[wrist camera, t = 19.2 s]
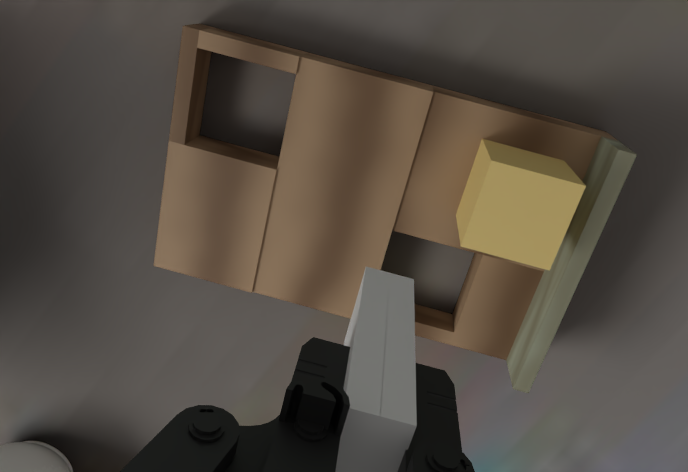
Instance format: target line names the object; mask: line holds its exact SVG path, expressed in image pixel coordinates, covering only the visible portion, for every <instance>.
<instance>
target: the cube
mask: <svg viewBox="0 0 688 472" xmlns="http://www.w3.org/2000/svg"><path fill="white" fill-rule="evenodd" d="M585 187H586V185H585V184H584V183H583V182H582V181H581V180H580V178H579V177H578V176H577V175H576V174H575V173H574V171H573V170H572V169H571V168H570V167H569V166H568V164H567V163H566V162H565V161H563V160H560V159H556V158H552V157H549V156H545V155H541V154H537V153H534V152H530V151H526V150H523V149H519V148H515V147H511V146H508V145H504V144H500V143H497V142H493V141H489V140H485V139H482V140H481V143H480V146H479V149H478V152H477V155H476V158H475V161H474V163H473V166H472V169H471V172H470V175H469V178H468V181H467V184H466V187H465V190H464V193H463V195H462V198H461V201H460V204H459V207H458V210H457V213H456V219H457V226H458V232H459V239H460V245H461V247H465V248H468V249H472V250H476V251H479V252H483V253H487V254H490V255H494V256H498V257H501V258H505V259H509V260H512V261H516V262H520V263H523V264H527V265H531V266H534V267H538V268H542V269H545V270H549V271H550V269H551V266H552V264H553V262H554V259H555V257H556V255H557V252H558V250H559V248H560V245H561V243H562V241H563V238H564V236H565V234H566V231H567V229H568V227H569V225H570V222H571V220H572V218H573V215H574V213H575V211H576V208H577V206H578V204H579V201H580V199H581V197H582V194H583V192H584V190H585Z"/></svg>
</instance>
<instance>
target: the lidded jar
mask: <svg viewBox="0 0 688 472" xmlns="http://www.w3.org/2000/svg"><path fill="white" fill-rule="evenodd" d="M0 472H73V468H72V465H71V464H70V462H69V460H68V459H67V458H66V456H65V455H64V454H63V453H62V452H60V451H59V450H58V449H56V448H55V447H53V446H51V445H49V444H47V443H44V442H40V441H23V442H12V443H5V444H1V445H0Z"/></svg>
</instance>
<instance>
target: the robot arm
mask: <svg viewBox="0 0 688 472" xmlns="http://www.w3.org/2000/svg"><path fill="white" fill-rule="evenodd" d="M455 400H456V396H455V388H454V384H453V382H452V381H451V379H450V378H449V376H448V375H447V373H446V372H445V371H444V370H440V369H436V368H433V367H429V366H425V365H421V364H418V363H416V361H415V309H414V279H411V278H408V277H404V276H400V275H396V274H393V273H389V272H385V271H381V270H377V269H374V268H370V267H366V268H365V271H364V275H363V278H362V282H361V285H360V289H359V292H358V296H357V299H356V303H355V306H354V310H353V313H352V317H351V320H350V323H349V327H348V330H347V334H346V337H345V341H344V345H341V344H337V343H333V342H329V341H326V340H322V339H318V338H314V337H313V338H312V339H310V340H309V341H308V342H307V343H305V344H304V345H303V346H302V348H301V352H300V355H299V358H298V362H297V365H296V368H295V372H294V375H293V378H292V381H291V383H290V384H289V386H288V387H287V389H286V393H285V397H284V401H283V405H282V409H281V413H280V415H279V416H278V417H277V418H276V419H274V420H272V421H271V422H269V423H266V424H262V425H256V426H239V424H238V422H237V421H236V419H235V418H234V416H233V415H232V414H230V413H229V412H227V411H226V410H224V409H221V408H218V407H215V406H211V405H198V406H194V407H190V408H186V409H185V410H183V411H182V412H180V413H179V414H177V415H176V416H175V417H174V418H173V419H172V420H171V421H170V422H169V423H168V424H167V425H166V426H165V427H164V428H163V429H162V430H161V431H160V432H159V433H158V434H157V435H156V436H155V437H154V438H153V439H152V440H151V441H150V442H149V443H148V444H147V445H146V446H145V447H144V448H143V449H142V450H141V451H140V452H139V453H138V454H137V455H136V456H135V457H134V458H133V459H132V460H131V461H130V462H129V463H128V464H127V465H126V466H125V467H124V468H123V469H122V470H121V471H120V472H475V471H474V469H473V466H472V463H471V462H470V460H469V459H468V458H467V457H466V456H465V454H464V453H462V448H461V439H460V431H459V422H458V413H457V405H456V401H455Z"/></svg>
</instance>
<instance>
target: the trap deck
mask: <svg viewBox="0 0 688 472" xmlns="http://www.w3.org/2000/svg"><path fill="white" fill-rule="evenodd" d="M211 52H215V53H219V54H223V55H226V56H230V57H234V58H238V59H241V60H245V61H249V62H253V63H256V64H260V65H264V66H268V67H271V68H275V69H279V70H283V71H286V72H290V73H294V74H296V78H295V83H294V88H293V93H292V98H291V103H290V107H289V112H288V117H287V122H286V127H285V132H284V137H283V142H282V147H281V152H280V157H279V156H275V155H271V154H268V153H264V152H260V151H256V150H253V149H249V148H245V147H242V146H238V145H234V144H230V143H227V142H223V141H219V140H216V139H212V138H208V137H204V136H201V135H200V129H201V122H202V115H203V108H204V101H205V94H206V87H207V80H208V73H209V66H210V59H211ZM482 139H485V140H489V141H493V142H497V143H500V144H504V145H508V146H511V147H515V148H519V149H523V150H526V151H530V152H534V153H537V154H541V155H545V156H549V157H552V158H556V159H560V160H563V161H565V162H566V163H567V164H568V166H569V167H570V168H571V169H572V170H573V171H574V173H575V174H576V175H577V176H578V177H579V178H580V180H581V181H582V182H583V183H584V184H585V185H586V187H585V190H584V192H583V194H582V197H581V199H580V201H579V204H578V206H577V208H576V211H575V213H574V215H573V218H572V220H571V222H570V225H569V227H568V229H567V231H566V234H565V236H564V238H563V241H562V243H561V245H560V248H559V250H558V252H557V255H556V257H555V259H554V262H553V264H552V266H551V269H550V271H549V270H545V269H542V268H538V267H534V266H531V265H527V264H523V263H520V262H516V261H512V260H509V259H505V258H501V257H498V256H494V255H490V254H487V253H483V252H479V251H476V250H472V249H468V248H465V247H461V245H460V239H459V232H458V226H457V219H456V213H457V210H458V207H459V204H460V201H461V198H462V195H463V193H464V190H465V187H466V184H467V181H468V178H469V175H470V172H471V169H472V166H473V163H474V161H475V158H476V155H477V152H478V149H479V146H480V143H481V140H482ZM636 156H637V154H635V153H634V152H633V151H631V150H630V149H629V148H627V147H626V146H625V145H623V144H622V143H621V142H619V141H618V140H617V139H615V138H614V137H613V136H611V135H610V134H609V133H607V132H606V131H602V130H598V129H594V128H591V127H587V126H583V125H579V124H576V123H572V122H568V121H564V120H561V119H557V118H553V117H549V116H545V115H542V114H538V113H534V112H530V111H527V110H523V109H519V108H515V107H512V106H508V105H504V104H500V103H497V102H493V101H489V100H485V99H482V98H478V97H474V96H470V95H466V94H463V93H459V92H455V91H451V90H448V89H444V88H440V87H436V86H433V85H429V84H425V83H421V82H418V81H414V80H410V79H406V78H402V77H399V76H395V75H391V74H387V73H384V72H380V71H376V70H372V69H369V68H365V67H361V66H357V65H354V64H350V63H346V62H342V61H339V60H335V59H331V58H327V57H323V56H320V55H316V54H312V53H308V52H305V51H301V50H297V49H293V48H290V47H286V46H282V45H278V44H275V43H271V42H267V41H263V40H259V39H256V38H252V37H248V36H244V35H241V34H237V33H233V32H229V31H226V30H222V29H218V28H214V27H211V26H207V25H203V24H193V25H185V26H183V29H182V37H181V45H180V54H179V62H178V70H177V78H176V86H175V95H174V103H173V111H172V119H171V127H170V135H169V144H168V152H167V160H166V168H165V176H164V185H163V193H162V201H161V209H160V217H159V226H158V234H157V242H156V250H155V258H154V266H156V267H160V268H164V269H167V270H171V271H175V272H178V273H182V274H186V275H189V276H193V277H196V278H200V279H204V280H207V281H211V282H215V283H218V284H222V285H226V286H229V287H233V288H237V289H240V290H244V291H247V292H251V293H252V292H255V293H259V294H263V295H266V296H270V297H274V298H277V299H281V300H285V301H288V302H292V303H296V304H299V305H303V306H306V307H310V308H314V309H317V310H321V311H325V312H328V313H332V314H336V315H339V316H343V317H347V318H350V319H351V317H352V313H353V310H354V306H355V303H356V299H357V296H358V292H359V289H360V285H361V282H362V278H363V275H364V271H365V268H366V267H370V268H374V269H377V270H381V266H382V263H383V260H384V256H385V253H386V250H387V246H388V243H389V240H390V236H391V233H392V230H393V231H396V232H400V233H404V234H407V235H411V236H415V237H419V238H422V239H426V240H430V241H433V242H437V243H441V244H444V245H448V246H452V247H455V248H459V249H463V250H467V251H470V252H474V253H475V254H474V256H473V259H472V262H471V265H470V267H469V270H468V273H467V276H466V278H465V281H464V284H463V286H462V289H461V292H460V295H459V297H458V300H457V303H456V306H455V308H454V311H453V314H450V313H446V312H443V311H439V310H435V309H432V308H428V307H424V306H421V305H417V304H414V309H415V335H416V336H420V337H424V338H427V339H431V340H435V341H438V342H442V343H446V344H449V345H453V346H457V347H460V348H464V349H468V350H471V351H475V352H478V353H482V354H486V355H489V356H493V357H497V358H500V359H504V360H506V361H507V365H508V369H509V374H510V378H511V382H512V386H513V389H515V390H519V391H522V392H526V393H529V391H530V389H531V386H532V384H533V382H534V380H535V378H536V375H537V373H538V371H539V369H540V367H541V364H542V362H543V360H544V358H545V356H546V353H547V351H548V349H549V347H550V345H551V342H552V340H553V338H554V336H555V334H556V332H557V329H558V327H559V325H560V323H561V321H562V318H563V316H564V314H565V312H566V310H567V307H568V305H569V303H570V301H571V299H572V296H573V294H574V292H575V290H576V288H577V285H578V283H579V281H580V279H581V277H582V274H583V272H584V270H585V268H586V266H587V263H588V261H589V259H590V257H591V255H592V253H593V250H594V248H595V246H596V244H597V242H598V239H599V237H600V235H601V233H602V231H603V228H604V226H605V224H606V222H607V220H608V217H609V215H610V213H611V211H612V209H613V206H614V204H615V202H616V200H617V198H618V195H619V193H620V191H621V189H622V187H623V184H624V182H625V180H626V178H627V176H628V173H629V171H630V169H631V167H632V165H633V163H634V160H635V158H636Z"/></svg>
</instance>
